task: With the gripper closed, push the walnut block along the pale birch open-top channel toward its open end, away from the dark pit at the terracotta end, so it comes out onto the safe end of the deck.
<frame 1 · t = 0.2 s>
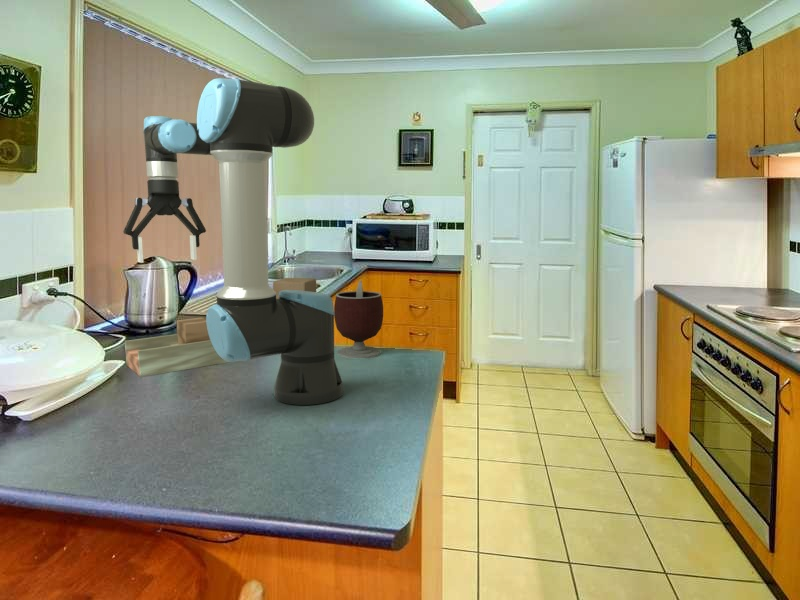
hand: (168, 260, 151), 27 cm above the countertop, fingers open, 13 cm apart
wooden block: (296, 345, 173), on the countertop
walnut block: (195, 346, 154), point 4 cm above the countertop, touching channel runway
channel runway: (199, 359, 156), on the countertop
mate gourd: (359, 353, 164), on the countertop
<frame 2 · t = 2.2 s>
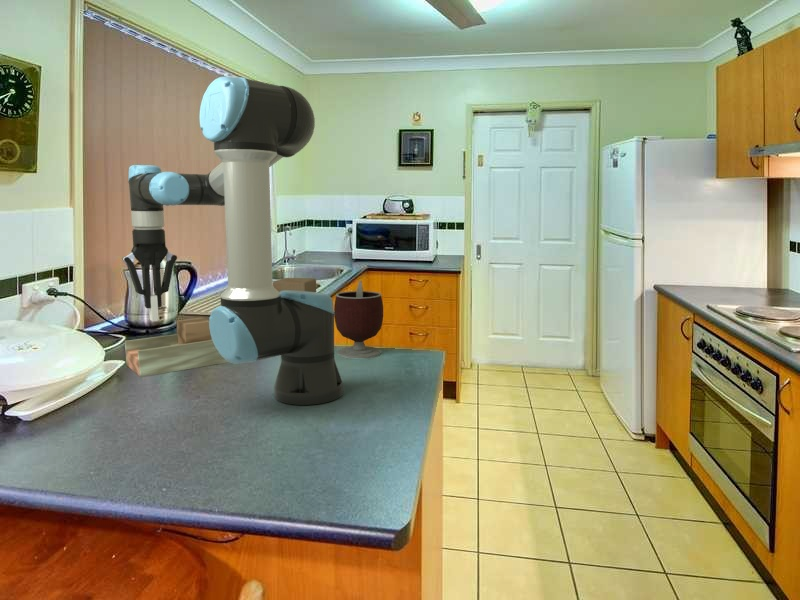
hand: (154, 320, 147), 12 cm above the countertop, fingers closed
nothing on the countertop moved.
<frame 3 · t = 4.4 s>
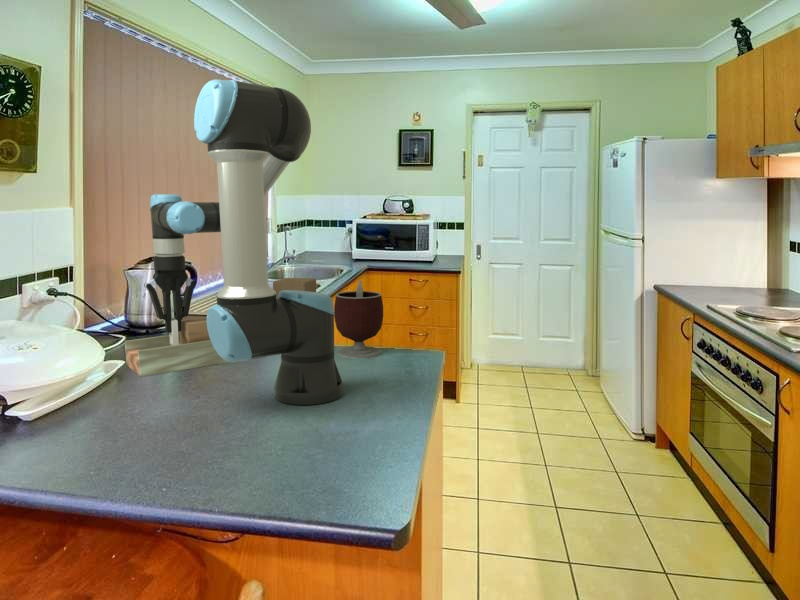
hand: (174, 344, 151), 5 cm above the countertop, fingers closed
walnut block: (197, 345, 155), point 4 cm above the countertop, touching gripper
everything else where it was.
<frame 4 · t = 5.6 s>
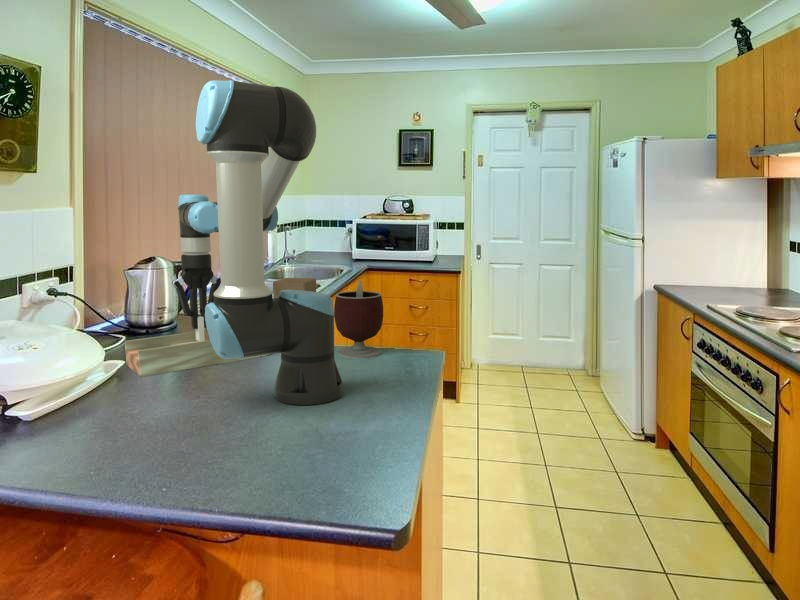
hand: (200, 340, 155), 6 cm above the countertop, fingers closed
walnut block: (222, 342, 159), point 4 cm above the countertop, touching channel runway, gripper
everything else where it was.
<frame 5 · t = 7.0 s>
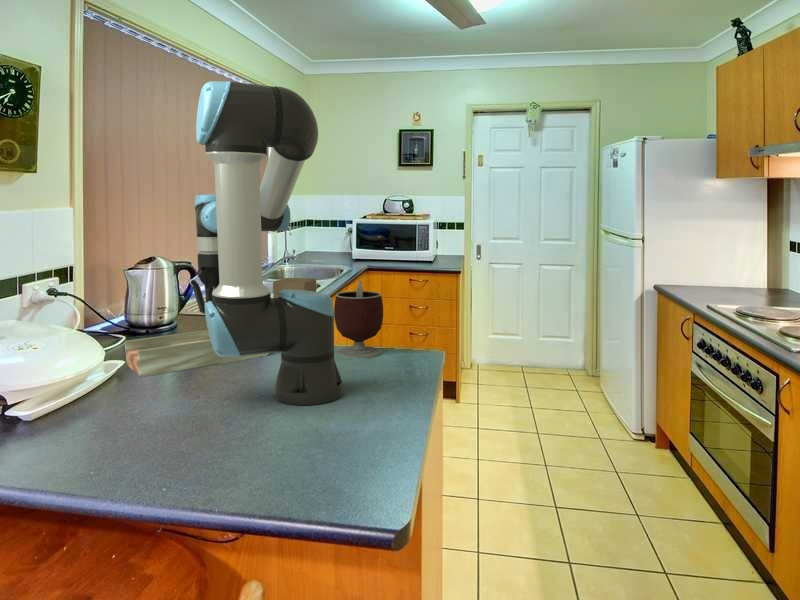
hand: (215, 337, 158), 6 cm above the countertop, fingers closed
walnut block: (236, 339, 162), point 4 cm above the countertop, touching channel runway, gripper
everything else where it was.
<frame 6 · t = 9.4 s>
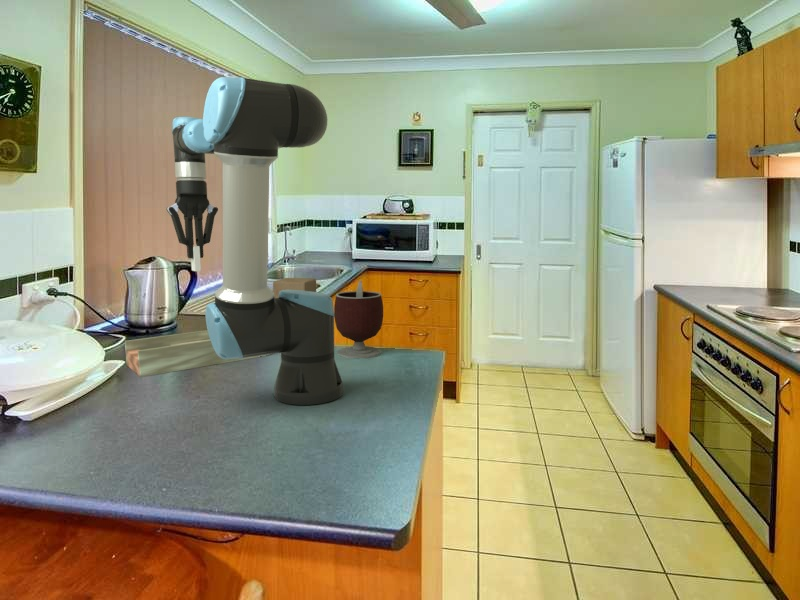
hand: (196, 270, 151), 25 cm above the countertop, fingers closed
walnut block: (237, 339, 162), point 4 cm above the countertop, touching channel runway
everything else where it was.
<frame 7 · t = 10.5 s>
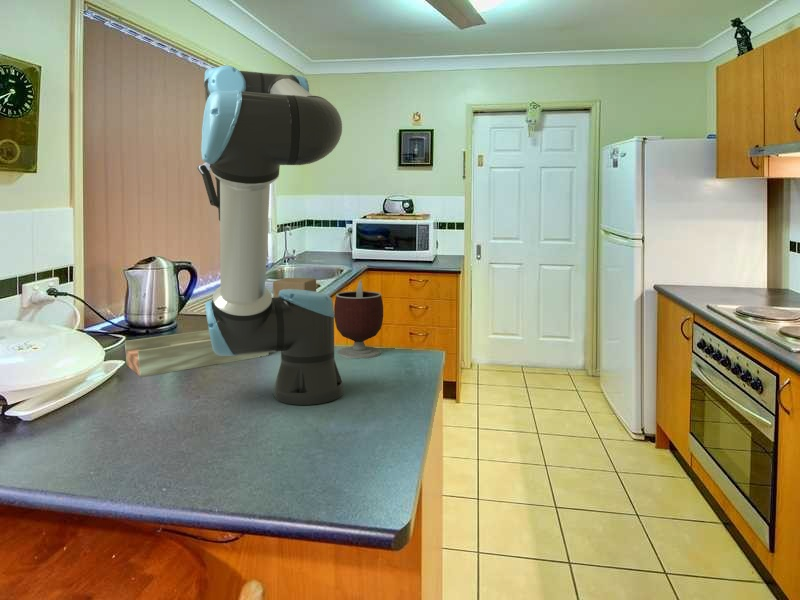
hand: (228, 234, 142), 34 cm above the countertop, fingers closed
nothing on the countertop moved.
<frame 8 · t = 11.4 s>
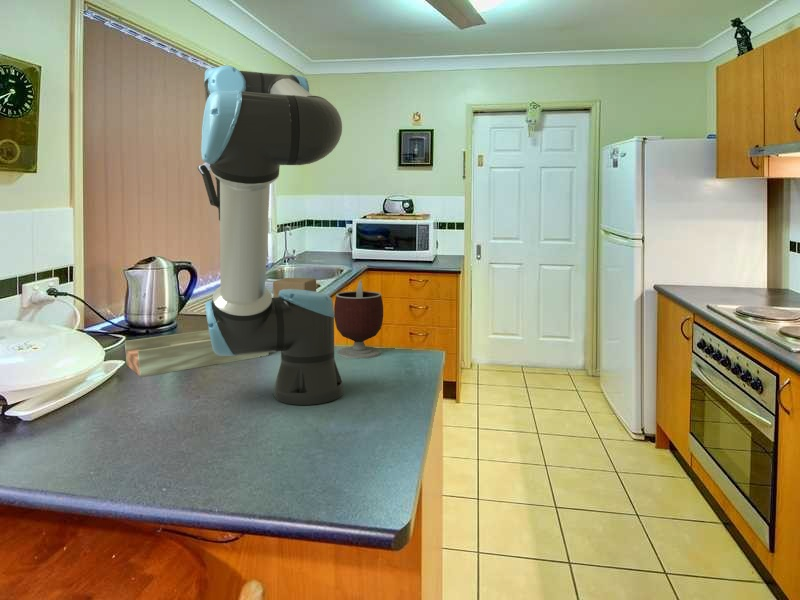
hand: (228, 234, 142), 34 cm above the countertop, fingers closed
nothing on the countertop moved.
at the end: walnut block inside the target area on the channel runway (0.8 cm from its centre), point 4.0 cm above the channel runway's base; walnut block tilted 0° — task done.
